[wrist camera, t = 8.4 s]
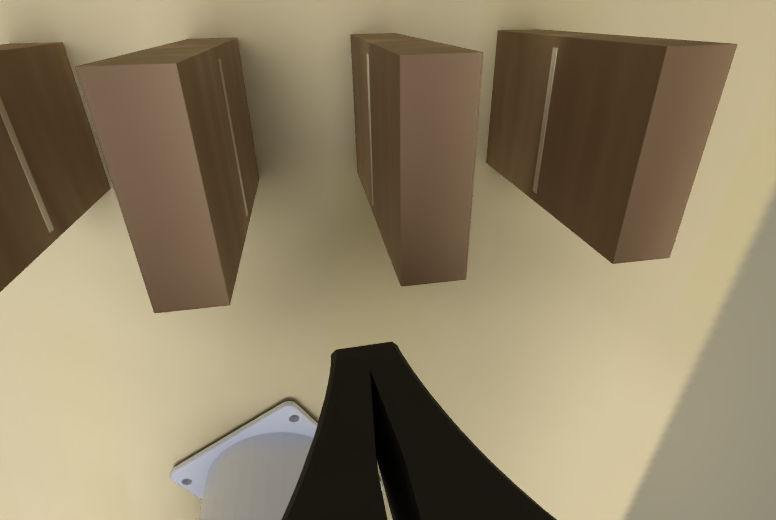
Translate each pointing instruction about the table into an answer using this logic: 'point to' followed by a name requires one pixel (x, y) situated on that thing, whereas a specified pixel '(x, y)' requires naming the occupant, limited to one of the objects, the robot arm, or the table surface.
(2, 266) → the domino
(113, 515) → the table surface
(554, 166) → the domino
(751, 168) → the table surface
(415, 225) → the domino
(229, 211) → the domino
